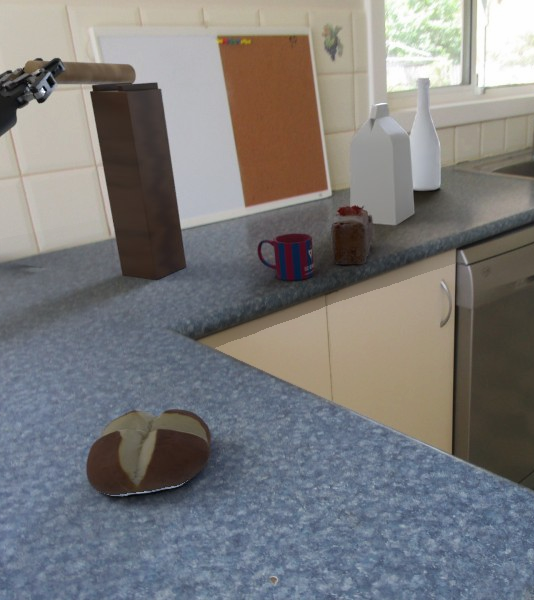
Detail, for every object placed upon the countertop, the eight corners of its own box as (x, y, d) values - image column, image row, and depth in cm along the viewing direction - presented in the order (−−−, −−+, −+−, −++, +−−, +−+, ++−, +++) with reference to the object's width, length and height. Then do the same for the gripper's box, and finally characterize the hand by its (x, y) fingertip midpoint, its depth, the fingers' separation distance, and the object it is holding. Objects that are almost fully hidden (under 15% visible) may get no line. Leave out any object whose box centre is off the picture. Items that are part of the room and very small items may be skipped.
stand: (156, 280, 118) (125, 85, 106) (122, 275, 121) (88, 84, 109) (186, 267, 124) (160, 82, 113) (153, 262, 127) (125, 82, 116)
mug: (304, 282, 115) (301, 244, 112) (253, 277, 118) (249, 240, 115) (320, 270, 121) (317, 234, 118) (271, 266, 124) (267, 231, 121)
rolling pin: (41, 83, 106) (37, 59, 105) (26, 84, 107) (22, 61, 106) (137, 84, 123) (134, 63, 122) (123, 85, 125) (120, 64, 123)
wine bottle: (447, 187, 190) (447, 77, 180) (426, 192, 184) (425, 79, 173) (421, 183, 196) (420, 77, 186) (400, 188, 190) (398, 78, 179)
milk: (395, 225, 151) (393, 106, 142) (350, 221, 155) (345, 106, 146) (414, 213, 161) (413, 102, 152) (371, 210, 165) (367, 101, 156)
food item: (335, 245, 136) (332, 198, 132) (374, 244, 136) (372, 197, 133) (330, 266, 123) (327, 214, 120) (373, 265, 123) (371, 213, 120)
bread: (72, 504, 59) (61, 457, 58) (122, 435, 70) (114, 393, 68) (197, 502, 59) (189, 454, 57) (227, 433, 70) (222, 391, 68)
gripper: (-11, 99, 93) (70, 40, 104) (-74, 97, 99) (9, 41, 109) (21, 144, 99) (95, 84, 109) (-41, 140, 104) (35, 83, 114)
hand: (51, 63), depth 109 cm, fingers closed on rolling pin, 3 cm apart
